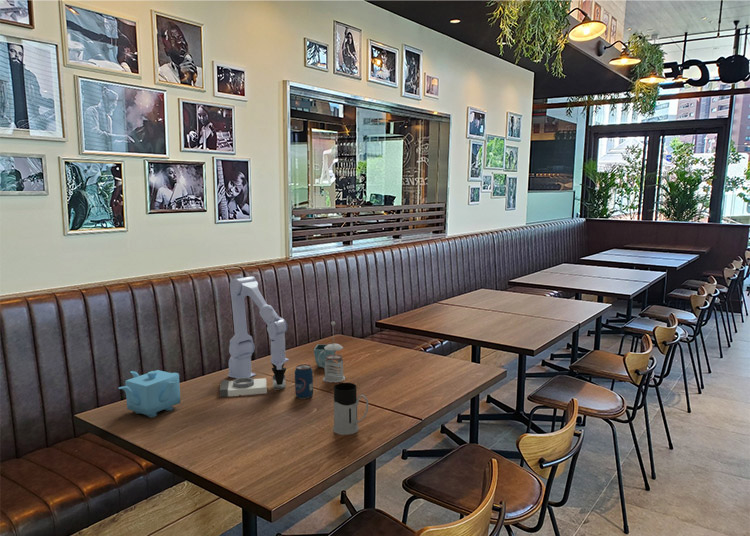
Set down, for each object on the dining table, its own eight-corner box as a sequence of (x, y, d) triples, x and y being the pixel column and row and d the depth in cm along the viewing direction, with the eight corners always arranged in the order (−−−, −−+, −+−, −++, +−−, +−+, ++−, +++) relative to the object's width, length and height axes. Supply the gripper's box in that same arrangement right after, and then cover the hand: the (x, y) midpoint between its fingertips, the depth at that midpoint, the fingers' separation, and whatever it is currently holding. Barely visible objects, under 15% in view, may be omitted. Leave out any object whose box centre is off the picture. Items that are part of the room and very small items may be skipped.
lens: (270, 388, 222) (270, 376, 221) (278, 384, 226) (278, 372, 225) (279, 390, 219) (279, 378, 219) (288, 386, 223) (287, 374, 223)
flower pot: (336, 363, 254) (336, 344, 252) (333, 369, 245) (332, 350, 244) (317, 362, 255) (317, 344, 253) (313, 368, 246) (313, 349, 245)
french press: (344, 382, 228) (343, 324, 224) (317, 382, 228) (315, 324, 225) (346, 374, 238) (345, 318, 234) (320, 374, 238) (318, 319, 234)
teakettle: (182, 399, 211) (180, 362, 209) (178, 418, 193) (175, 378, 191) (130, 404, 206) (127, 366, 204) (120, 424, 188) (117, 383, 186)
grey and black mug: (345, 421, 189) (344, 380, 187) (376, 432, 180) (376, 389, 178) (327, 429, 183) (326, 387, 180) (359, 442, 174) (358, 397, 172)
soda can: (291, 397, 212) (290, 367, 210) (302, 391, 218) (301, 362, 216) (306, 400, 208) (305, 370, 207) (316, 394, 214) (315, 365, 213)
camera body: (220, 397, 212) (219, 387, 212) (221, 387, 223) (221, 378, 223) (266, 393, 216) (266, 383, 216) (266, 383, 227) (265, 374, 226)
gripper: (289, 353, 214) (290, 386, 216) (287, 343, 228) (288, 374, 230) (270, 354, 213) (272, 388, 215) (269, 344, 227) (271, 376, 229)
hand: (279, 381), depth 222 cm, fingers open, 7 cm apart
